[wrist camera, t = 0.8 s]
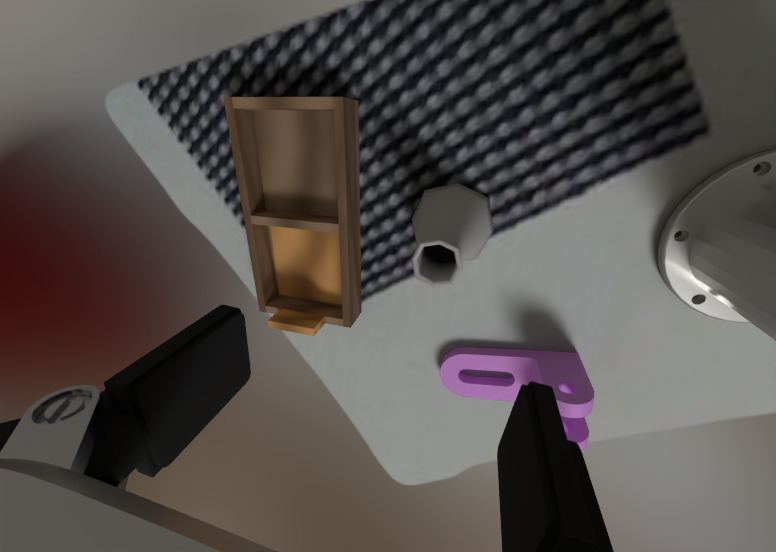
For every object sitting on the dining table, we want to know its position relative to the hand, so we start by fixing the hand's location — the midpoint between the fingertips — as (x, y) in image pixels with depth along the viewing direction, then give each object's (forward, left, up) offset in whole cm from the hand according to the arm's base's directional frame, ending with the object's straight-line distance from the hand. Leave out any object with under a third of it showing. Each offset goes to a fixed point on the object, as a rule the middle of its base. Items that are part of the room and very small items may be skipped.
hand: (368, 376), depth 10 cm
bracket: (-8, +15, -21) cm, 27 cm away
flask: (-1, 0, -21) cm, 21 cm away
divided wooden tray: (+13, +1, -21) cm, 24 cm away
